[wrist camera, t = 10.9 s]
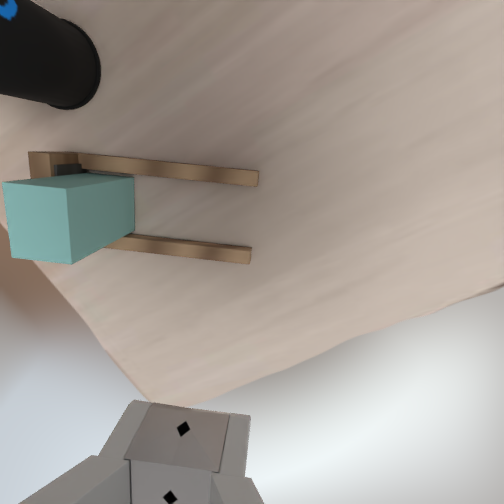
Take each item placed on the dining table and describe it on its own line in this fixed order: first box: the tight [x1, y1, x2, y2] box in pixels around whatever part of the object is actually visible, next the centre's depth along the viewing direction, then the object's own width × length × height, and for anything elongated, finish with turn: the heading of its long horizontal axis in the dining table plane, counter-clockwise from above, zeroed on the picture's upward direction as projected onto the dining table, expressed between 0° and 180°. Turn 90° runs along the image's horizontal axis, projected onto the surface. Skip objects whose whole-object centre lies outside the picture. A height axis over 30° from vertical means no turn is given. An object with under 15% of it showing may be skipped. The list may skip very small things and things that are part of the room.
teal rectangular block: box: [2, 173, 135, 264], centre depth 31 cm, size 5×6×12 cm
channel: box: [28, 152, 259, 264], centre depth 34 cm, size 21×10×6 cm, turn 85°
